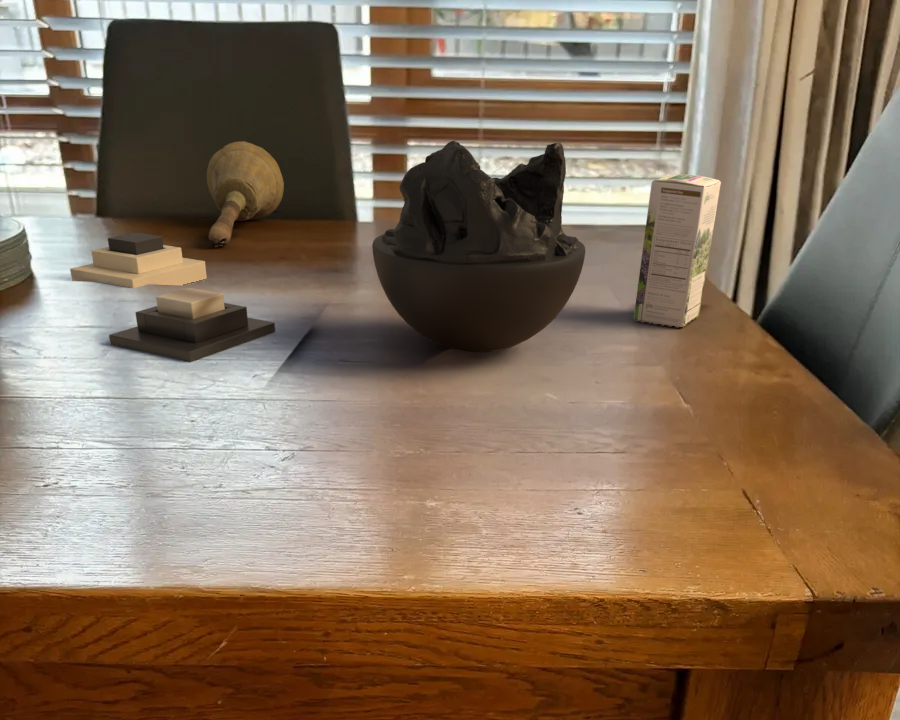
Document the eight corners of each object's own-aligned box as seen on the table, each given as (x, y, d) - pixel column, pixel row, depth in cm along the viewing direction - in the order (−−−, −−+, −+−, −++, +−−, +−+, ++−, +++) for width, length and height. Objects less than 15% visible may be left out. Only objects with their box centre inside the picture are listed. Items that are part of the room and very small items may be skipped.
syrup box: (650, 310, 111) (667, 172, 104) (701, 318, 108) (722, 177, 101) (632, 321, 107) (649, 178, 99) (684, 330, 104) (705, 183, 97)
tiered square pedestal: (192, 376, 88) (186, 331, 86) (112, 358, 92) (105, 315, 90) (276, 344, 97) (273, 303, 95) (200, 329, 101) (195, 289, 99)
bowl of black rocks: (339, 363, 92) (330, 143, 82) (422, 313, 108) (422, 125, 98) (542, 392, 86) (558, 159, 76) (598, 335, 102) (617, 136, 92)
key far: (136, 258, 113) (134, 242, 112) (109, 253, 115) (107, 238, 114) (164, 251, 117) (162, 236, 116) (137, 247, 118) (135, 232, 118)
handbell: (260, 232, 158) (232, 296, 139) (194, 186, 154) (156, 245, 135) (299, 172, 152) (274, 230, 133) (231, 121, 147) (196, 174, 128)
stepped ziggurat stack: (134, 299, 111) (129, 263, 109) (73, 287, 115) (66, 252, 113) (207, 279, 120) (203, 245, 118) (147, 269, 124) (143, 236, 122)
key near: (193, 322, 90) (191, 303, 89) (158, 315, 92) (155, 296, 91) (225, 312, 93) (223, 293, 92) (190, 305, 95) (188, 287, 94)
